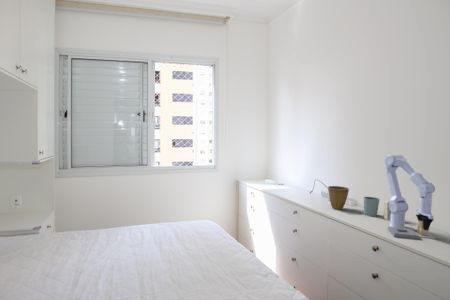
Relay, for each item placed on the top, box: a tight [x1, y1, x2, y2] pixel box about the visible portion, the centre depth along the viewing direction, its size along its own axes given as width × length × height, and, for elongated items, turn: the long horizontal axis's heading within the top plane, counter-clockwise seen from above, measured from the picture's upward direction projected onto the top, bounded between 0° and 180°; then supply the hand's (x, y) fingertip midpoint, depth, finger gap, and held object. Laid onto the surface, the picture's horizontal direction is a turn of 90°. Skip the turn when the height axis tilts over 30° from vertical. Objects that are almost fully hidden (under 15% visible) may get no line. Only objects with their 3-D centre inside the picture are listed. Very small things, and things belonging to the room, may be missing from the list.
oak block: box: [416, 220, 430, 235], centre depth 179 cm, size 4×4×7 cm
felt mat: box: [414, 231, 436, 240], centre depth 179 cm, size 9×9×1 cm
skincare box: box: [383, 200, 392, 221], centre depth 213 cm, size 6×4×12 cm
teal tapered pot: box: [363, 196, 380, 217], centre depth 224 cm, size 10×10×12 cm
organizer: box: [387, 226, 420, 240], centre depth 180 cm, size 14×12×2 cm
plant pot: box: [327, 185, 350, 211], centre depth 241 cm, size 15×15×16 cm
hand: (423, 228), depth 179 cm, fingers closed on oak block, 4 cm apart
